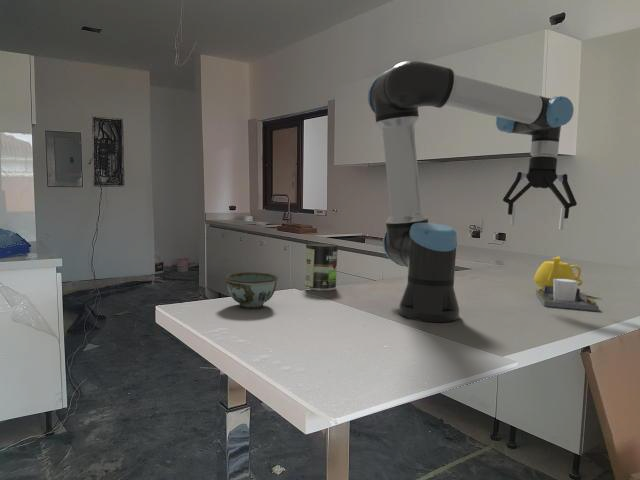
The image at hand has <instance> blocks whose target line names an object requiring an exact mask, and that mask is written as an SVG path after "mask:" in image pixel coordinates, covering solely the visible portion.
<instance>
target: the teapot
mask: <svg viewBox="0 0 640 480" xmlns="http://www.w3.org/2000/svg"><path fill="white" fill-rule="evenodd" d="M561 260H562V259H561V257H560V256H559V255H557V256H556V257H552V260H551V261H550V260H546V261H543V262H542V263H541V264H540V266H539V267H538V268H537V270H536V272H535V274H534V277H533V281H534V283H535V284H536V285H537V287H540V288H541V290H540V291H543V286H544V285H550V286H553V279H556V278H562V279H571V280H576V281H578V286H577V287H579V286H582V285H583V280H582V279H580V278H581V274H582V269H581V267H580V266H579V265H577V264H572V265H570V264H569V263H568V262H564V261H563V262H562V261H561ZM573 268H576V269H577V271H578V272H577V275H575V273H574V270H573Z"/></svg>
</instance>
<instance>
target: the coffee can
mask: <svg viewBox="0 0 640 480" xmlns="http://www.w3.org/2000/svg"><path fill="white" fill-rule="evenodd" d="M305 248H306V251H305V274H304V276H305V278H304V279H305V280H304V288H305V289H307V290H309V291H310V290H311V291H321V292H329V291H335V290H336V289H337V272H338V271H337V268H338V250H339V249H338V248H339V245H338V244H335V243H322V242H320V243H319V242H318V243H317V242H313V243H312V242H311V243H306V244H305Z"/></svg>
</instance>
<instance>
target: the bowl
mask: <svg viewBox="0 0 640 480" xmlns="http://www.w3.org/2000/svg"><path fill="white" fill-rule="evenodd" d="M278 279H279V276H277V275H275V274H271V273H266V272H254V271H250V272H249V271H248V272H234V273H233V272H232V273H229V274H227V275H226V276H225V280H226V285H227V291H228V293H229V295H230V297H231V299H233V300H234V302H236V303H238V305H239V307H241V308H242V309H249V310H250V309H251V310H255V309H261V308H263V307H264V303H267V302H269V300H270V299H271V298H272V297H273V295H274V294H275V291H276V288H277V287H276V286H277V282H278Z"/></svg>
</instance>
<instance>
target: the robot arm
mask: <svg viewBox="0 0 640 480" xmlns="http://www.w3.org/2000/svg"><path fill="white" fill-rule="evenodd" d="M367 102H368V103H367V104H368V105H369V107H370V110H371V111H372V112H373V114H374V115H375V116H374V117H375V124H376V126H378V127H379V128H381V131H382V139H383V141H382V142H383V149H384V160H385V170H386V180H387V190H388V199H389V201H388V202H389V208H390V209H389V210H390V215H389V217H388V218H387V219H386V221H385V225H386V227H385V228H386V231H385V233H384V235H383V238H382V247H383V250H384V251H383V252H384V253H385V255H386V257H387V258H388V259H389V260H390V261H392V262H393V263H394V264H396V265H398V266H400V267H404V268H405V267H406V268H407V284H406V287H405V289H404V291H403V292H404V293H403V295H402V297H401V299H400V302H399V308H398V313H399V315H401V316H403V317H405V318H407V319H411V320H414V321H415V320H416V321H421V322H430V323H431V322H432V323H449V322H454V321H457V320H459V319H460V307H459V303H458V299H457V296H456V292H455V286H454V285H455V271H456V259H457V257H456V255H457V248H458V238H457V231H456V230H455V229H454V228H453V227H451V226H448V225H446V224H438V223H436V222H435V223H434V222H429V218H428V216H427V215H425V214H424V213H423V211H422V202H421V192H420V179H419V169H418V158H417V146H416V135H415V124H416V123H417V121H418V119H419V117H420V116H419V108H420V107H434V108H438V109H443V108H444V107H445V106H448V107H451V108H452V107H453V108H457V109H462V110H464V111H465V110H466V111H470V112H475V113H479V114H483V115H487V116H491V117H495V125H496V128H497V130H498V131H499V132H503V133H507V134H518V135H519V134H520V135H528V136H531V144H530V151H529V152H530V153H529V155H530V156H531V157H530V158H529V161H528V163H529V164H528V170H527V173H525V172H521V171H518V172H517V173H516V177H515V180H514V181H513V183H512V184H511V186H510V187H509V189H508V191H507V192H506V194H505V195H504V196H503V198H502V201H503V202H504V203H506V204H508V205H507V206H508V209H507V214H508V215H511V217H510V227H514V225H515V215H516V208H517V207H516V206H517V204H515V203H516V201H517V200H519V199H520V197H522V196H523V194H525V193H526V192H527V191H528V190H529V189H530V188H531V187H532V188H534V189H540V188H541V189H548V188H549V190H550V191H551V192H552V193H553V194H554V196H555V197H556V198H557V200H558V201H559V202H560V203H561V205H562V207H561V208H560V213H559V215H560V216H559V223H558V230H561V231H563V230H564V223H565V219H568V218H569V212H570V208H572V207H576V206H577V205H578V204H577V201H576V199H575V196H574V194H573V191H572V189H571V186H570V185H569V181H568V179H569V178H568V174H567V173H564V174H557V165H558V158H557V156H558V155H559V147H560V137H561V130H562V129H561V128H562V126H564V125H567V124H568V123H569V122H570V121H571V120H572V118H573V116H574V104H573V102H572V101H571V99H569V98H568V97H566V96H563V95H561V96H553V97H545V96H542V95H536V94H534V93H529V92H524V91H520V90H517V89H514V88H510V87H506V86H502V85H498V84H495V83H494V84H493V83H490V82H486V81H482V80H478V79H474V78H470V77H466V76H462V75H460V74H455V71H454V69H452V68H448V67H446V66H441V65H437V64H433V63H429V62H423V61H417V60H408V61H402V62H400V63H397V64H395V65H394V66H393V67H392V68H390V69H388V70H386V71H384V72H382V73H381V74H379V75H378V76H376V78H375V79H374V80H373V81H372V82H371V84H370V86H369V89H368V92H367ZM524 178H526V179H527V181H528V183H526V185H524V187H523V188H521V189H520V190H519V191H518V192H517V193H516V194H515V195H514V196H513V197H512V198H510V197H511V195H512V194H513V192H514V191H515V190H516V188H517V186H518V184H520V182H521V180H524ZM556 180H558V182H560V183H561V184H562V187H563V189H564V192H565V194H566V196H567V199H568V201H569V202H568V201H567V200H566V198H565V196H564V195H562V193H561V192H560V191H559V188H557V186H556V184H554V182H555V181H556Z"/></svg>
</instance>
